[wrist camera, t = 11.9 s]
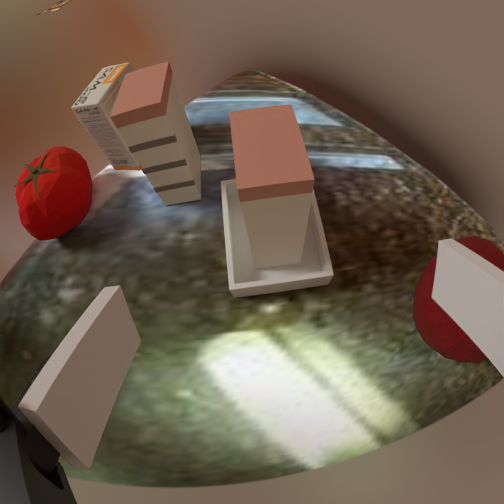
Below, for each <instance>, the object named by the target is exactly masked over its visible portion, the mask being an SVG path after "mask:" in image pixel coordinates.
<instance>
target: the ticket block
mask: <svg viewBox="0 0 504 504" xmlns="http://www.w3.org/2000/svg"><path fill="white" fill-rule="evenodd" d="M110 118H111V119H112V121H113V123H114V125H115V126H116V128H118V130H119V131H120V133H121V135H122V137H123V138H124V140H125V142H126V143H127V145H128V148H129V150H130V152H131V153H133V155H134V156H135V158H136V160H137V161H138V163H139V165H140V166H141V168H142V171H143V173H144V174H146V176H147V177H148V179H149V181H150V182H151V184H152V185H153V187H154V190H155V192H156V193H158V195H159V196H160V198H161V199H162V201H163V203H164V204H165V206H167V205H172V204H178V203H183V202H189V201H195V200H201V156H200V153H199V150H198V147H197V144H196V141H195V139H194V136H193V133H192V130H191V127H190V124H189V121H188V118H187V116H186V113H185V110H184V107H183V104H182V101H181V98H180V95H179V92H178V90H177V86H176V84H175V81H174V78H173V75H172V70H171V67H170V64H169V62H164V63H161V64H157V65H153V66H150V67H146V68H143V69H140V70H137V71H133V72H130V73H127V74H125V77H124V79H123V82H122V85H121V87H120V90H119V93H118V95H117V98H116V101H115V104H114V107H113V110H112V113H111V116H110Z"/></svg>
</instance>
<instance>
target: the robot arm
mask: <svg viewBox="0 0 504 504" xmlns="http://www.w3.org/2000/svg"><path fill="white" fill-rule="evenodd" d="M432 298H433V299H434V300H435V301H436V302H437V304H438V305H439V306H440V307H441V308H442V309H443V310H444V311H445V312H446V313H447V314H448V315H449V316H450V317H451V318H452V319H453V320H454V321H455V322H456V323H457V324H458V325H459V326H460V327H461V328H462V330H463V331H464V332H465V333H466V334H467V335H468V336H469V337H470V338H471V339H472V340H473V342H474V343H475V344H476V345H477V346H478V347H479V348H480V349H481V351H482V352H483V353H484V354H485V355H486V356H487V358H488V359H489V360H490V361H491V362H492V363H493V365H494V366H495V367H496V368H497V369H498V371H499V372H500V373H501V374H502V375H503V377H504V272H503V271H502V270H500V269H499V268H497V267H496V266H494V265H493V264H492V263H490V262H488V261H487V260H485V259H484V258H482V257H481V256H479V255H478V254H476V253H475V252H473V251H471V250H470V249H468V248H467V247H465V246H463V245H462V244H460V243H458V242H457V241H455V240H453V239H452V238H451V239H445V240H439V244H438V254H437V263H436V271H435V278H434V285H433V291H432ZM140 342H141V340H140V337H139V335H138V332H137V330H136V327H135V325H134V322H133V320H132V317H131V314H130V312H129V309H128V306H127V304H126V301H125V298H124V295H123V292H122V289H121V287H120V286H112V287H104V289H103V290H102V291H101V292H100V293H99V295H98V296H97V297H96V298H95V300H94V301H93V302H92V303H91V305H90V306H89V307H88V308H87V310H86V311H85V312H84V313H83V315H82V316H81V317H80V318H79V320H78V321H77V322H76V324H75V325H74V326H73V327H72V329H71V330H70V331H69V333H68V334H67V335H66V337H65V338H64V339H63V341H62V342H61V343H60V345H59V346H58V348H57V349H56V350H55V352H54V353H53V354H52V355H51V356H50V357H48V358H47V359H46V360H45V361H44V362H43V363H42V365H41V366H40V368H39V369H38V370H37V374H36V373H35V375H34V376H33V378H32V379H31V380H32V381H31V382H29V384H28V385H27V387H26V388H25V390H24V391H23V393H22V394H21V396H20V397H19V399H18V400H17V402H16V404H15V405H14V407H13V408H12V410H10V408H9V407H8V406H7V405H6V403H5V402H4V401H3V399H2V398H1V397H0V504H77V502H76V500H75V498H74V495H73V493H72V490H71V488H70V485H69V483H68V480H67V477H66V475H65V472H64V469H63V467H62V465H61V464H60V463H59V462H58V459H59V456H60V455H61V456H62V457H63V458H65V459H66V460H67V461H68V462H69V463H70V464H71V465H74V466H78V467H82V468H86V469H90V468H91V465H92V462H93V459H94V456H95V453H96V451H97V448H98V445H99V442H100V440H101V437H102V434H103V432H104V429H105V426H106V424H107V421H108V418H109V416H110V413H111V411H112V408H113V406H114V403H115V401H116V398H117V396H118V393H119V391H120V388H121V386H122V384H123V381H124V379H125V376H126V374H127V372H128V369H129V367H130V365H131V362H132V360H133V358H134V356H135V353H136V351H137V349H138V347H139V344H140Z"/></svg>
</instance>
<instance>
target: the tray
mask: <svg viewBox="0 0 504 504" xmlns="http://www.w3.org/2000/svg"><path fill="white" fill-rule="evenodd" d="M221 193H222V206H223V220H224V232H225V245H226V257H227V268H228V279H229V290H230V291H231V293H232V295H233V296H234V298H237V297H245V296H253V295H260V294H268V293H275V292H282V291H289V290H296V289H303V288H309V287H316V286H322V285H328V284H329V283H330V281H331V279H332V277H333V275H334V274H333V269H332V265H331V260H330V256H329V251H328V247H327V242H326V238H325V234H324V229H323V225H322V221H321V217H320V213H319V209H318V205H317V201H316V197H315V193H314V190H313V193H312V199H311V206H310V212H309V218H308V224H307V230H306V235H305V241H304V247H303V252H302V258H301V263H298V264H291V265H284V266H277V267H270V268H263V269H256V268H255V263H254V259H253V255H252V250H251V246H250V242H249V238H248V233H247V229H246V225H245V221H244V216H243V212H242V208H241V204H240V199H239V195H238V191H237V183H236V179H231V180H225V181H221Z"/></svg>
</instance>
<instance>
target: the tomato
mask: <svg viewBox="0 0 504 504" xmlns="http://www.w3.org/2000/svg"><path fill="white" fill-rule="evenodd" d="M25 165H26V164H25ZM91 198H92V180H91V175H90V172H89V169H88V166H87V163H86V161H85V160H84V158H83V157H82V156H81V155H80V154H79V153H77V152H76V151H74V150H72V149H70V148H66V147H63V146H62V147H53V148H51V149H49V150H47V151H46V152H45V153H44V154H43V156H40V157H38V158H36V159H35V160H34V161H33V162H31V163H30V164H29V165H26V167H25V169H24V170H23V172H22V173H21V175H20V177H19V179H18V181H17V185H16V199H17V204H18V206H19V216H20V220H21V224H22V225H23V226H24V227H25V229H26V230H27V231H28V232H29V233H30V234H31V235H32V236H33V237H35V238H37V239H38V240H50V239H54V238H58V237H60V236H62V235H63V234H65V233H66V232H68V231H69V230H71V229H72V228H74V227H75V226H77V225H78V224H80V223H81V221H82V220H83V219H84V217H85V215H86V213H87V211H88V209H89V207H90V205H91Z"/></svg>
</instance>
